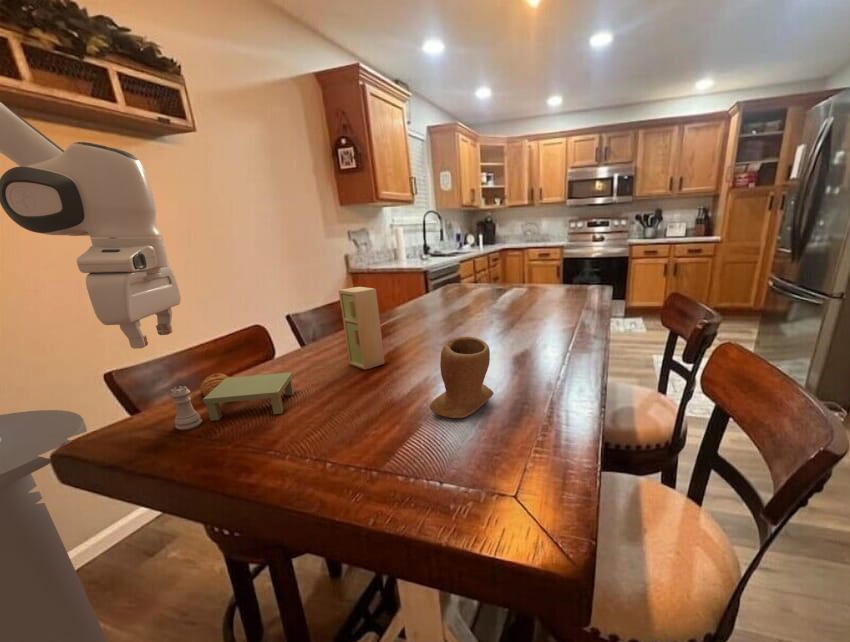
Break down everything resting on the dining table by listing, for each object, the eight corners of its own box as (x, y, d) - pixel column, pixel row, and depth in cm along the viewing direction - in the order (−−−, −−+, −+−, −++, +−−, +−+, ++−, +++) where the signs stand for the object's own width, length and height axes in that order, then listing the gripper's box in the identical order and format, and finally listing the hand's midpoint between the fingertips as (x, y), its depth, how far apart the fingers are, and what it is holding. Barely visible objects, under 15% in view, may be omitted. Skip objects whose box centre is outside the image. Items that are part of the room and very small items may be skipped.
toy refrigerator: (346, 365, 113) (335, 289, 106) (368, 358, 118) (360, 286, 111) (362, 371, 108) (352, 292, 101) (385, 364, 113) (377, 288, 106)
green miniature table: (208, 421, 82) (202, 399, 80) (231, 397, 93) (226, 377, 91) (282, 414, 84) (278, 392, 83) (295, 391, 96) (292, 372, 94)
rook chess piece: (206, 419, 83) (196, 383, 80) (197, 429, 79) (186, 391, 76) (182, 421, 82) (171, 385, 79) (171, 432, 78) (159, 394, 75)
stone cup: (471, 428, 76) (469, 353, 72) (422, 415, 82) (416, 344, 77) (508, 399, 89) (508, 333, 84) (462, 389, 94) (460, 327, 90)
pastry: (235, 396, 94) (232, 381, 92) (201, 404, 90) (196, 388, 89) (233, 384, 101) (230, 370, 100) (201, 390, 98) (197, 376, 96)
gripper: (141, 254, 74) (159, 328, 78) (67, 261, 55) (96, 358, 59) (181, 254, 75) (196, 326, 80) (123, 260, 57) (147, 354, 61)
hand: (153, 340), depth 69 cm, fingers open, 8 cm apart
